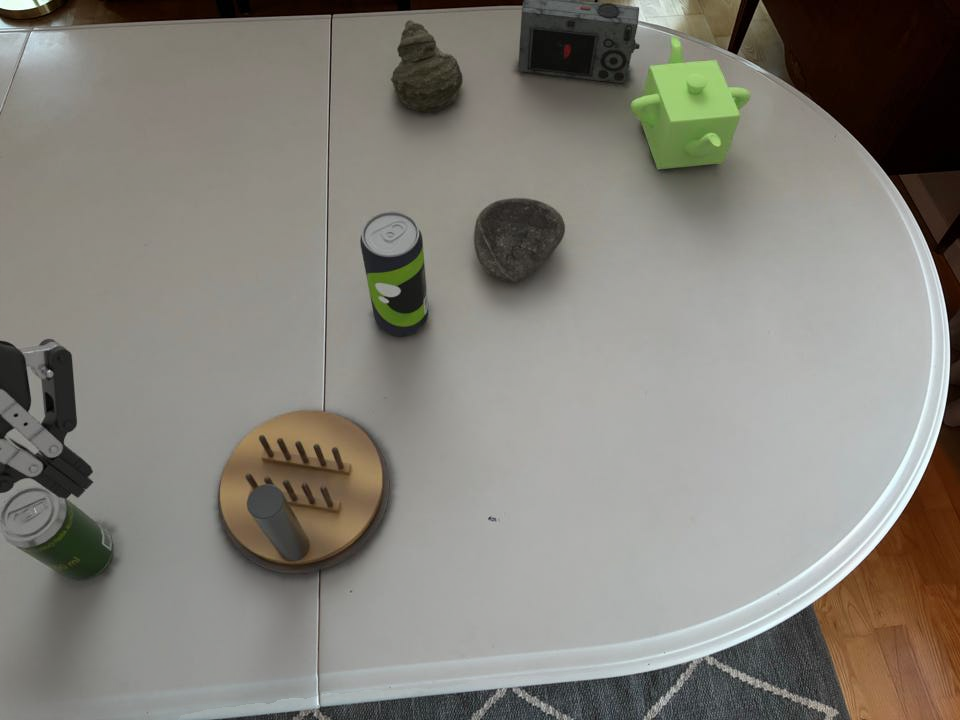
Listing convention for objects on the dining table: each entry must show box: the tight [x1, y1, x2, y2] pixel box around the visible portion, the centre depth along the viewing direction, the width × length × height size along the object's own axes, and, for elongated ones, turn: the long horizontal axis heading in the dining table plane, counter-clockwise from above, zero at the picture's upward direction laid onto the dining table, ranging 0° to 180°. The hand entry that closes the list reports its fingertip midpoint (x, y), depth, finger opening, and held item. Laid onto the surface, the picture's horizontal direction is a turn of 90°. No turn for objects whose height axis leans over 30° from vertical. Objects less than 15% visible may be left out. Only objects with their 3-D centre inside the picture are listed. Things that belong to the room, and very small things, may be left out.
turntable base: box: [217, 413, 390, 575], centre depth 80 cm, size 17×17×1 cm
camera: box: [517, 0, 641, 84], centre depth 109 cm, size 16×4×10 cm, turn 81°
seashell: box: [390, 19, 463, 114], centre depth 106 cm, size 11×12×10 cm
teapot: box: [630, 35, 751, 170], centre depth 101 cm, size 15×13×11 cm
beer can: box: [0, 484, 114, 581], centre depth 72 cm, size 5×5×12 cm
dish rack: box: [220, 409, 383, 565], centre depth 74 cm, size 16×16×13 cm
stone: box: [473, 197, 566, 283], centre depth 94 cm, size 11×11×5 cm
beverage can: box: [359, 210, 429, 337], centre depth 85 cm, size 6×6×15 cm
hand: (81, 485), depth 57 cm, fingers closed
